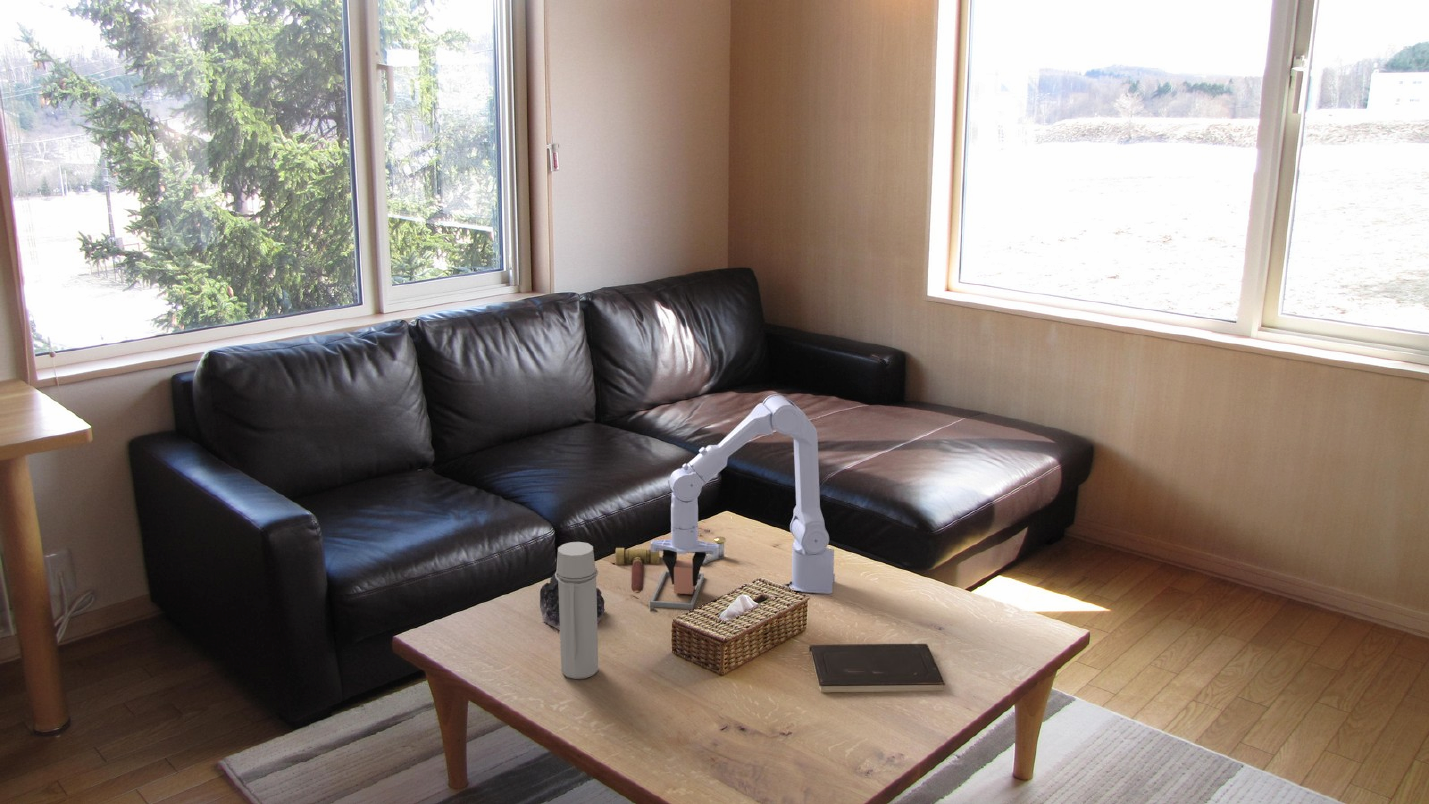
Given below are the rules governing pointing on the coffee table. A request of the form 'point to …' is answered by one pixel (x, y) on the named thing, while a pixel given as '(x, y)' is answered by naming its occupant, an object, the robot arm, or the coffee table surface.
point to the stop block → (683, 577)
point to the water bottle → (577, 610)
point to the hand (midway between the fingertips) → (684, 583)
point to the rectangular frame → (673, 604)
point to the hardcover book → (875, 668)
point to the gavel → (636, 563)
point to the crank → (721, 550)
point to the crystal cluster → (551, 603)
